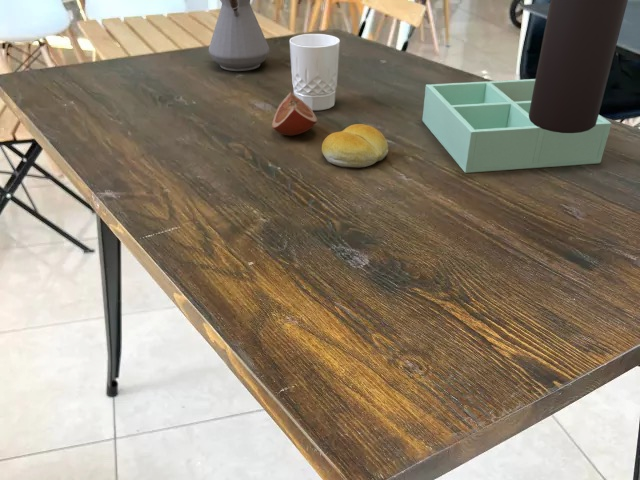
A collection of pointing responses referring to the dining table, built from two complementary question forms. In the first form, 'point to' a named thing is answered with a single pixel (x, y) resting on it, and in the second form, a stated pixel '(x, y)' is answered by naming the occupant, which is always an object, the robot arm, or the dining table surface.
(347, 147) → the bread roll
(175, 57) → the dining table surface
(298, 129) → the fruit slice
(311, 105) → the white cup
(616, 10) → the vinegar
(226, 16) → the coffee pot
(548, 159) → the green compartment tray
